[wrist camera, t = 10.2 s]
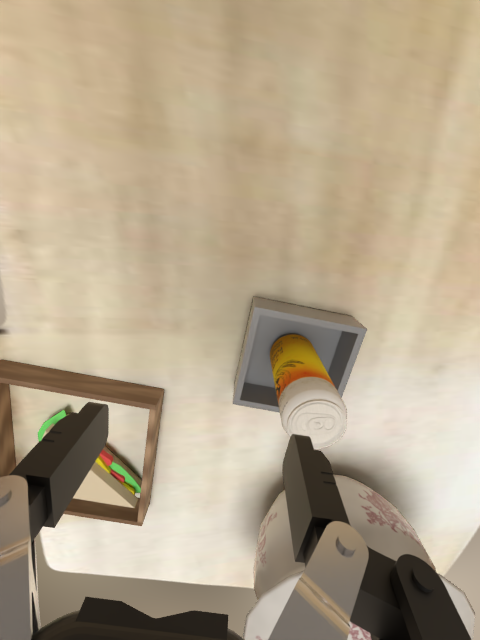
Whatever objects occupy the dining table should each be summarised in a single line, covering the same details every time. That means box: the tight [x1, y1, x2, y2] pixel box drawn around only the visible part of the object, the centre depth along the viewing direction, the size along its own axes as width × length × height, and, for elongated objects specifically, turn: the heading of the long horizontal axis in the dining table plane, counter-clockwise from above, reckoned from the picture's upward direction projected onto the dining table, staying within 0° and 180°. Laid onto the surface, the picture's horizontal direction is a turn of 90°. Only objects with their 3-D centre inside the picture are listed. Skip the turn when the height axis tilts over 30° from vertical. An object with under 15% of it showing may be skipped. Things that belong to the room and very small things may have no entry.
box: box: [233, 297, 367, 412], centre depth 37 cm, size 14×14×5 cm
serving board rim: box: [0, 360, 164, 526], centre depth 43 cm, size 24×24×4 cm
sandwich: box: [38, 410, 142, 508], centre depth 45 cm, size 15×20×5 cm
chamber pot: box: [243, 474, 475, 640], centre depth 39 cm, size 28×28×21 cm
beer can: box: [270, 334, 347, 449], centre depth 32 cm, size 6×6×15 cm
